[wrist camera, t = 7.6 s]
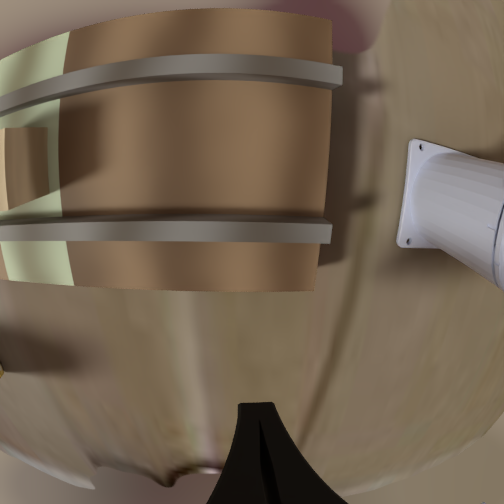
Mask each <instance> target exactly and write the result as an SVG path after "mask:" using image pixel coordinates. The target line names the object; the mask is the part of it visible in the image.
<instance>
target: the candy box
mask: <svg viewBox="0 0 504 504" xmlns="http://www.w3.org/2000/svg"><path fill="white" fill-rule="evenodd" d="M3 374H4V371H3V368H2V366H1V363H0V378H1V377H2V375H3Z"/></svg>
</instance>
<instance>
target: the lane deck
mask: <svg viewBox="0 0 504 504" xmlns="http://www.w3.org/2000/svg"><path fill="white" fill-rule="evenodd" d="M342 81H343V67H341V66H336V65H332V20H327V19H323V18H318V17H312V16H306V15H300V14H293V13H285V12H278V11H267V10H254V9H232V8H210V9H188V10H187V9H186V10H175V11H164V12H156V13H148V14H142V15H136V16H130V17H124V18H120V19H115V20H110V21H106V22H102V23H98V24H94V25H90V26H86V27H83V28H80V29H76V30H73V31H70V32H67V33H64V34H61V35H58V36H55V37H52V38H50V39H47V40H44V41H42V42H39V43H37V44H34V45H32V46H30V47H27V48H25V49H23V50H20V51H18V52H17V53H14V54H12V55H10V56H8V57H6V58H4V59H2V60H0V129H3V128H19V127H48V141H47V148H48V179H49V193H50V194H48V195H46V196H43V197H40V198H38V199H35V200H33V201H30V202H28V203H25V204H23V205H20V206H18V207H15V208H13V209H11V210H7V211H0V279H3V280H13V281H23V282H34V283H46V284H58V285H72V286H87V287H104V288H123V289H145V290H175V291H227V292H282V291H314V286H315V280H316V273H317V265H318V258H319V250H320V244H330V241H331V233H332V224H331V223H330V222H329V221H327V220H326V219H325V218H324V217H323V216H324V207H325V197H326V186H327V174H328V161H329V146H330V129H331V106H332V90H333V89H335V88H337V87H339V86H341V85H342Z"/></svg>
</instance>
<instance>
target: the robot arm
mask: <svg viewBox="0 0 504 504" xmlns="http://www.w3.org/2000/svg"><path fill="white" fill-rule="evenodd" d="M420 144H421V147H422V148H421V150H420V149H419V146H420ZM407 239H409V242H408V243H406V241H407ZM396 243H397V245H398V246H400V247H402V248H435V249H441V250H443V251H444V252H446V253H448V254H449V255H451V256H452V257H454V258H455V259H457V260H459V261H460V262H462V263H463V264H465V265H466V266H468V267H469V268H471V269H472V270H474V271H475V272H477V273H478V274H480V275H481V276H483V277H484V278H486V279H487V280H489V281H490V282H491V283H493V284H494V285H496V286H497V287H498V288H500V289H501V290H502V291H503V292H504V163H500V162H495V161H490V160H485V159H480V158H476V157H474V156H471V155H468V154H465V153H462V152H459V151H456V150H453V149H450V148H446V147H443V146H440V145H436V144H433V143H429V142H426V141H422V140H418V139H411V140H410V142H409V147H408V160H407V170H406V180H405V188H404V196H403V203H402V210H401V216H400V222H399V228H398V234H397V239H396ZM206 504H348V503H347V502H345V501H344V500H343V499H342V498H341V497H340V496H339V495H337V494H336V493H335V492H334V491H333V490H332V489H331V488H330V487H329V486H328V485H327V484H326V483H325V482H324V481H323V480H322V479H321V478H320V477H319V476H318V474H317V473H316V472H315V471H314V470H313V469H312V467H311V466H310V465H309V464H308V462H307V461H306V460H305V458H304V457H303V456H302V454H301V453H300V451H299V450H298V448H297V447H296V445H295V444H294V442H293V440H292V439H291V437H290V436H289V434H288V432H287V430H286V428H285V427H284V425H283V423H282V421H281V419H280V417H279V414H278V412H277V410H276V407H275V404H274V403H273V402H259V403H240V404H238V418H237V425H236V430H235V434H234V438H233V442H232V445H231V449H230V452H229V455H228V458H227V460H226V463H225V466H224V468H223V471H222V473H221V476H220V478H219V480H218V482H217V484H216V486H215V488H214V490H213V492H212V494H211V496H210V498H209V500H208V502H207V503H206ZM481 504H486V503H485V502H483V503H481Z"/></svg>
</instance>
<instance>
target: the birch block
mask: <svg viewBox="0 0 504 504" xmlns="http://www.w3.org/2000/svg"><path fill="white" fill-rule="evenodd" d="M47 141H48V127H19V128H3V129H0V211H7V210H11V209H13V208H15V207H18V206H20V205H23V204H25V203H28V202H30V201H33V200H35V199H38V198H40V197H43V196H46V195H48V194H50V193H49V179H48V148H47Z"/></svg>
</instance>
